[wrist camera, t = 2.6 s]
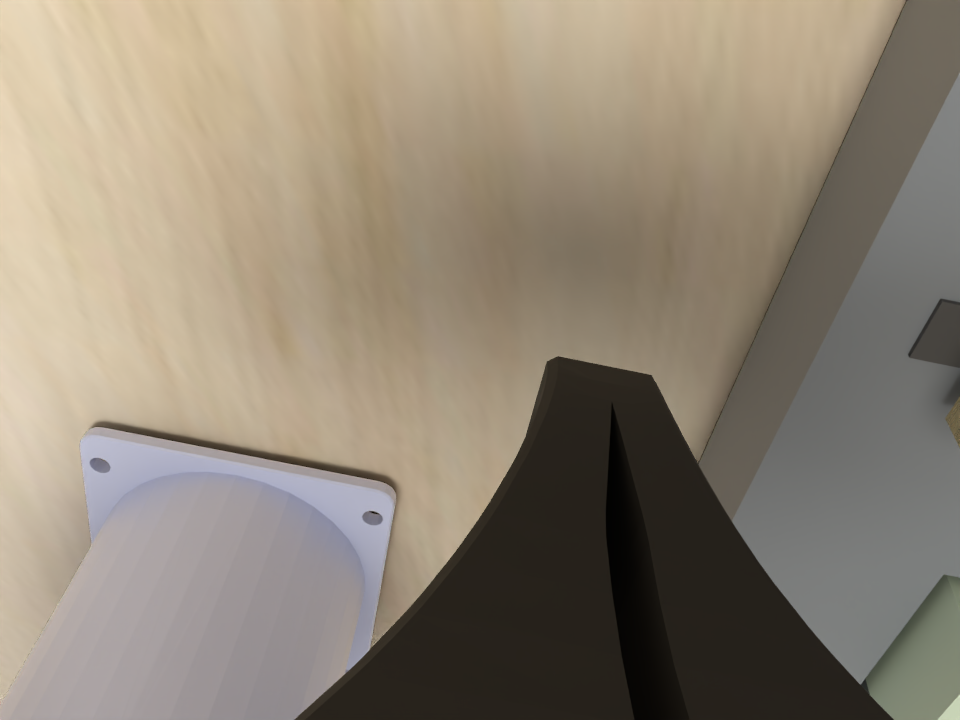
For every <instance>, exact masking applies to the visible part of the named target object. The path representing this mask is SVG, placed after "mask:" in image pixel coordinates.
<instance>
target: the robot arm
mask: <svg viewBox="0 0 960 720" xmlns="http://www.w3.org/2000/svg"><path fill="white" fill-rule="evenodd" d="M80 454H81V463H82V471H83V479H84V487H85V495H86V503H87V511H88V520H89V528H90V536H91V544H92V545H91V547H90V549H89V550H88V552H87V554H86V556H85V557H84V559H83V561H82V562H81V564H80V566H79V568H78V569H77V571H76V573H75V575H74V576H73V578H72V580H71V582H70V583H69V585H68V587H67V589H66V590H65V592H64V594H63V596H62V597H61V599H60V601H59V603H58V604H57V606H56V608H55V610H54V611H53V613H52V615H51V617H50V618H49V620H48V622H47V624H46V625H45V627H44V629H43V631H42V632H41V634H40V636H39V638H38V639H37V641H36V643H35V645H34V646H33V648H32V650H31V652H30V653H29V655H28V657H27V659H26V660H25V662H24V664H23V666H22V667H21V669H20V671H19V673H18V674H17V676H16V678H15V680H14V681H13V683H12V685H11V687H10V688H9V690H8V692H7V694H6V695H5V697H4V699H3V701H2V702H1V704H0V720H894V719H893V718H892V717H891V716H890V715H889V714H888V713H887V712H886V711H885V710H884V709H883V708H882V707H881V706H880V705H879V704H878V703H877V702H876V701H875V700H874V699H873V698H872V697H871V696H870V695H869V694H868V693H867V691H866V690H865V689H864V688H863V687H862V686H861V685H860V684H859V683H858V682H857V681H856V679H855V678H854V677H853V676H852V675H851V674H850V673H849V672H848V671H847V670H846V669H845V668H844V666H843V665H842V664H841V663H840V662H839V661H838V660H837V659H836V658H835V657H834V656H833V654H832V653H831V652H830V651H829V650H828V649H827V648H826V646H825V645H824V644H823V643H822V642H821V641H820V639H819V638H818V637H817V636H816V635H815V634H814V632H813V631H812V630H811V629H810V628H809V627H808V625H807V624H806V623H805V622H804V620H803V619H802V618H801V616H800V615H799V614H798V613H797V611H796V610H795V609H794V608H793V606H792V605H791V604H790V603H789V601H788V600H787V599H786V597H785V596H784V595H783V594H782V592H781V591H780V590H779V589H778V587H777V586H776V585H775V584H774V582H773V581H772V579H771V578H770V577H769V575H768V574H767V573H766V571H765V570H764V569H763V567H762V566H761V564H760V563H759V562H758V560H757V559H756V557H755V556H754V554H753V553H752V551H751V550H750V548H749V547H748V545H747V544H746V542H745V541H744V539H743V538H742V536H741V535H740V533H739V532H738V530H737V529H736V527H735V525H734V524H733V522H732V521H731V519H730V517H729V516H728V514H727V513H726V511H725V509H724V508H723V506H722V504H721V503H720V501H719V499H718V498H717V496H716V494H715V492H714V491H713V489H712V487H711V486H710V484H709V482H708V480H707V479H706V477H705V475H704V474H703V472H702V470H701V468H700V467H699V465H698V463H697V461H696V459H695V458H694V456H693V454H692V452H691V450H690V448H689V446H688V445H687V443H686V441H685V439H684V437H683V435H682V433H681V431H680V429H679V427H678V425H677V424H676V422H675V420H674V418H673V416H672V414H671V412H670V410H669V408H668V406H667V404H666V402H665V400H664V398H663V396H662V394H661V392H660V390H659V388H658V386H657V384H656V382H655V381H654V379H653V377H652V376H651V375H648V374H643V373H638V372H633V371H628V370H623V369H618V368H613V367H608V366H603V365H598V364H593V363H588V362H583V361H578V360H573V359H568V358H563V357H559V356H558V357H555V358H553V359H551V360H549V361H547V363H546V367H545V370H544V374H543V377H542V381H541V384H540V388H539V392H538V395H537V399H536V402H535V406H534V409H533V413H532V416H531V420H530V423H529V427H528V430H527V434H526V437H525V439H524V441H523V444H522V446H521V448H520V450H519V452H518V454H517V456H516V458H515V460H514V462H513V464H512V465H511V467H510V469H509V471H508V472H507V474H506V476H505V477H504V479H503V481H502V482H501V484H500V486H499V488H498V489H497V491H496V493H495V494H494V496H493V498H492V499H491V501H490V503H489V504H488V506H487V507H486V509H485V510H484V512H483V513H482V515H481V516H480V518H479V520H478V521H477V522H476V524H475V525H474V527H473V528H472V530H471V531H470V533H469V534H468V535H467V537H466V538H465V539H464V541H463V542H462V544H461V545H460V546H459V548H458V549H457V550H456V552H455V553H454V554H453V556H452V557H451V558H450V560H449V561H448V562H447V563H446V565H445V566H444V567H443V568H442V570H441V571H440V572H439V573H438V575H437V576H436V577H435V578H434V580H433V581H432V582H431V583H430V585H429V586H428V587H427V588H426V589H425V591H424V592H423V593H422V594H421V595H420V596H419V598H418V599H417V600H416V601H415V602H414V603H413V605H412V606H411V607H410V608H409V609H408V610H407V611H406V612H405V613H404V614H403V615H402V617H401V618H400V619H399V620H398V621H397V622H396V623H395V624H394V625H393V626H392V627H391V628H390V629H389V630H388V631H387V632H386V633H385V634H384V635H383V636H382V637H381V639H380V640H379V641H378V642H377V643H376V644H375V645H374V646H373V647H372V648H371V649H370V647H371V641H372V635H373V630H374V624H375V618H376V612H377V607H378V601H379V595H380V590H381V584H382V578H383V572H384V567H385V561H386V555H387V549H388V544H389V538H390V532H391V527H392V521H393V515H394V509H395V504H396V493H395V491H394V490H393V488H392V487H390V486H389V485H388V484H386V483H383V482H380V481H376V480H370V479H365V478H360V477H355V476H350V475H345V474H340V473H335V472H329V471H324V470H319V469H314V468H309V467H304V466H299V465H293V464H288V463H283V462H278V461H273V460H268V459H263V458H258V457H252V456H247V455H242V454H237V453H232V452H227V451H222V450H216V449H211V448H206V447H201V446H196V445H191V444H186V443H181V442H175V441H170V440H165V439H160V438H155V437H150V436H145V435H140V434H134V433H129V432H124V431H119V430H114V429H109V428H104V427H94V428H91V429H89V430H88V431H87V432H86V433H85V435H84V436H83V438H82V439H81V441H80ZM100 458H101V459H103V460H105V461H106V462H105V461H103V460H101V459H100ZM369 511H375V512H377V513H379V514H373V513H370V512H369Z"/></svg>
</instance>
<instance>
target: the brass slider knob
mask: <svg viewBox="0 0 960 720" xmlns="http://www.w3.org/2000/svg"><path fill="white" fill-rule="evenodd" d="M945 419H946V421H947V423H948V425H949V427H950V429H951V431H952V433H953V435H954V437H955V440H956V442H957V444H958V446H959V448H960V396H959V398H958V399H957V401H956V402H955V404H954V406H953V407H952V409H951V410H950V412H949V413H948V415H947V416H946V418H945Z"/></svg>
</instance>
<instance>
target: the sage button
mask: <svg viewBox="0 0 960 720" xmlns="http://www.w3.org/2000/svg"><path fill="white" fill-rule="evenodd" d="M865 679H866V682H867V686H868V690H869V693H870V696H871V697H872V698H873V699H874V700H875V701H876V702H877V703H878V704H879V705H880V706H881V707H882V708H883V709H884V710H885V711H886V712H887V713H888V714H889V715H890V716H891V717H892V718H893V719H894V720H960V578H959V577H954V576H949V575H943V576H942V577H941V579H940V580H939V581H938V583H937V584H936V585H935V587H934V588H933V589H932V591H931V592H930V593H929V595H928V596H927V597H926V599H925V600H924V601H923V603H922V604H921V605H920V607H919V608H918V609H917V611H916V612H915V613H914V614H913V616H912V617H911V618H910V620H909V621H908V622H907V624H906V625H905V626H904V628H903V629H902V630H901V632H900V633H899V634H898V636H897V637H896V638H895V640H894V641H893V642H892V644H891V645H890V646H889V648H888V649H887V650H886V652H885V653H884V654H883V656H882V657H881V658H880V660H879V661H878V662H877V664H876V665H875V666H874V668H873V669H872V670H871V672H870V673H869V674H868V675H867V677H866V678H865Z"/></svg>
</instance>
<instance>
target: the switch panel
mask: <svg viewBox="0 0 960 720" xmlns="http://www.w3.org/2000/svg"><path fill="white" fill-rule="evenodd" d="M959 396H960V0H907V1H906V3H905V6H904V8H903V10H902V12H901V14H900V17H899V19H898V21H897V23H896V26H895V28H894V30H893V32H892V35H891V37H890V39H889V41H888V43H887V46H886V48H885V50H884V52H883V55H882V57H881V59H880V61H879V63H878V66H877V68H876V70H875V72H874V75H873V77H872V79H871V81H870V83H869V86H868V88H867V90H866V92H865V95H864V97H863V99H862V101H861V103H860V106H859V108H858V110H857V112H856V115H855V117H854V119H853V121H852V124H851V126H850V128H849V130H848V132H847V135H846V137H845V139H844V141H843V144H842V146H841V148H840V150H839V152H838V155H837V157H836V159H835V161H834V164H833V166H832V168H831V170H830V172H829V175H828V177H827V179H826V181H825V184H824V186H823V188H822V190H821V192H820V195H819V197H818V199H817V201H816V204H815V206H814V208H813V210H812V213H811V215H810V217H809V219H808V221H807V224H806V226H805V228H804V230H803V233H802V235H801V237H800V239H799V241H798V244H797V246H796V248H795V250H794V253H793V255H792V257H791V259H790V261H789V264H788V266H787V268H786V270H785V273H784V275H783V277H782V279H781V281H780V284H779V286H778V288H777V290H776V293H775V295H774V297H773V299H772V302H771V304H770V306H769V308H768V310H767V313H766V315H765V317H764V319H763V322H762V324H761V326H760V328H759V330H758V333H757V335H756V337H755V339H754V342H753V344H752V346H751V348H750V350H749V353H748V355H747V357H746V359H745V362H744V364H743V366H742V368H741V370H740V373H739V375H738V377H737V379H736V382H735V384H734V386H733V388H732V391H731V393H730V395H729V397H728V399H727V402H726V404H725V406H724V408H723V411H722V413H721V415H720V417H719V419H718V422H717V424H716V426H715V428H714V431H713V433H712V435H711V437H710V439H709V442H708V444H707V446H706V448H705V451H704V453H703V455H702V457H701V459H700V462H699V464H698V465H699V467H700V468H701V470H702V472H703V474H704V475H705V477H706V479H707V480H708V482H709V484H710V486H711V487H712V489H713V491H714V492H715V494H716V496H717V498H718V499H719V501H720V503H721V504H722V506H723V508H724V509H725V511H726V513H727V514H728V516H729V517H730V519H731V521H732V522H733V524H734V525H735V527H736V529H737V530H738V532H739V533H740V535H741V536H742V538H743V539H744V541H745V542H746V544H747V545H748V547H749V548H750V550H751V551H752V553H753V554H754V556H755V557H756V559H757V560H758V562H759V563H760V564H761V566H762V567H763V569H764V570H765V571H766V573H767V574H768V575H769V577H770V578H771V579H772V581H773V582H774V584H775V585H776V586H777V587H778V589H779V590H780V591H781V592H782V594H783V595H784V596H785V597H786V599H787V600H788V601H789V603H790V604H791V605H792V606H793V608H794V609H795V610H796V611H797V613H798V614H799V615H800V616H801V618H802V619H803V620H804V622H805V623H806V624H807V625H808V627H809V628H810V629H811V630H812V631H813V632H814V634H815V635H816V636H817V637H818V638H819V639H820V641H821V642H822V643H823V644H824V645H825V646H826V648H827V649H828V650H829V651H830V652H831V653H832V654H833V656H834V657H835V658H836V659H837V660H838V661H839V662H840V663H841V664H842V665H843V666H844V668H845V669H846V670H847V671H848V672H849V673H850V674H851V675H852V676H853V677H854V678H855V679H856V681H857V682H858V683H859V684H860V685H861V686H862V687H863V688H864V689H865V690H866V691H867V693H868V694H869V695H870V693H869V690H868V686H867V682H866V679H865V678H866V677H867V675H868V674H869V673H870V672H871V670H872V669H873V668H874V666H875V665H876V664H877V662H878V661H879V660H880V658H881V657H882V656H883V654H884V653H885V652H886V650H887V649H888V648H889V646H890V645H891V644H892V642H893V641H894V640H895V638H896V637H897V636H898V634H899V633H900V632H901V630H902V629H903V628H904V626H905V625H906V624H907V622H908V621H909V620H910V618H911V617H912V616H913V614H914V613H915V612H916V611H917V609H918V608H919V607H920V605H921V604H922V603H923V601H924V600H925V599H926V597H927V596H928V595H929V593H930V592H931V591H932V589H933V588H934V587H935V585H936V584H937V583H938V581H939V580H940V579H941V577H942V576H943V575H949V576H954V577H959V578H960V448H959V446H958V444H957V442H956V440H955V437H954V435H953V433H952V431H951V429H950V427H949V425H948V423H947V421H946V419H945V418H946V416H947V415H948V413H949V412H950V410H951V409H952V407H953V406H954V404H955V402H956V401H957V399H958V398H959Z"/></svg>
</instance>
